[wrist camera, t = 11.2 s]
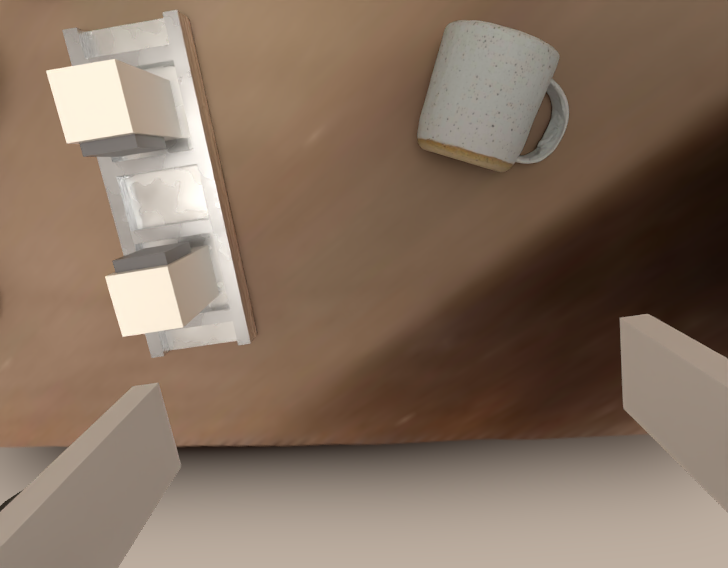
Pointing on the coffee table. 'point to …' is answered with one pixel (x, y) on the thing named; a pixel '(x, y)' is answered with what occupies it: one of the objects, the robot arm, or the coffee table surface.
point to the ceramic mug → (491, 96)
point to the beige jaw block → (161, 287)
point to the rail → (174, 177)
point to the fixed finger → (114, 108)
